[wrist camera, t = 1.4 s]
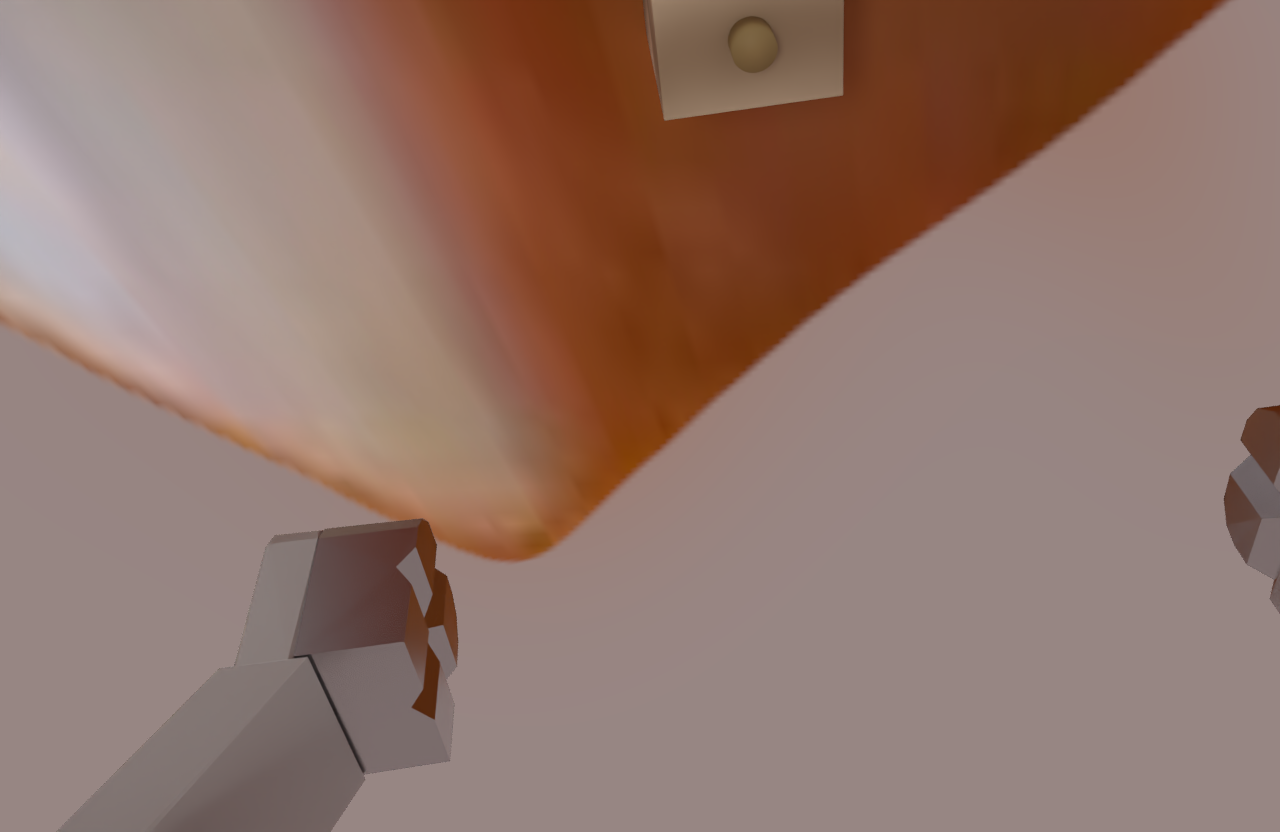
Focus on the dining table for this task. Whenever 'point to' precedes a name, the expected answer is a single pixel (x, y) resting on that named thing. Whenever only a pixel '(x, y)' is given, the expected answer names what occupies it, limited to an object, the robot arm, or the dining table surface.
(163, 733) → the robot arm
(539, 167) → the dining table surface
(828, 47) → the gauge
